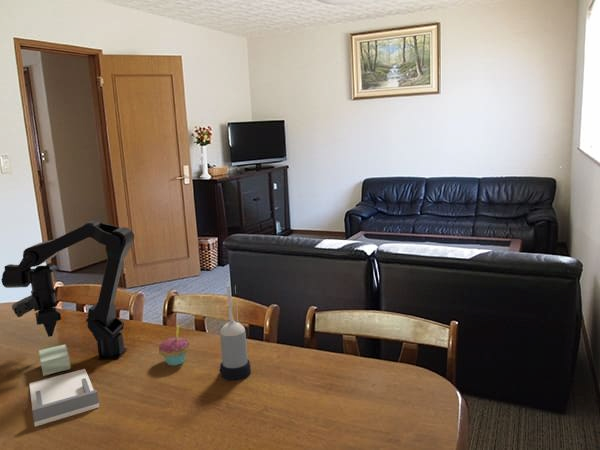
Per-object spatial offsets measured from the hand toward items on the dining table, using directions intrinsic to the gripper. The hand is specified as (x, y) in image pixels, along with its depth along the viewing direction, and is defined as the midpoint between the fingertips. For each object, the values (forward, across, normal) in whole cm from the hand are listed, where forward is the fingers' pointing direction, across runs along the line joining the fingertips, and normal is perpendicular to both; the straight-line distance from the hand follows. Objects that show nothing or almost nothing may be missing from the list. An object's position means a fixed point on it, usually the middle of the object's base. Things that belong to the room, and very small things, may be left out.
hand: (50, 336), depth 149 cm
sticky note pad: (+6, +9, 0) cm, 11 cm away
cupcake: (+7, +26, +30) cm, 40 cm away
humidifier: (+7, +43, +41) cm, 60 cm away
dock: (+7, +27, 0) cm, 28 cm away
